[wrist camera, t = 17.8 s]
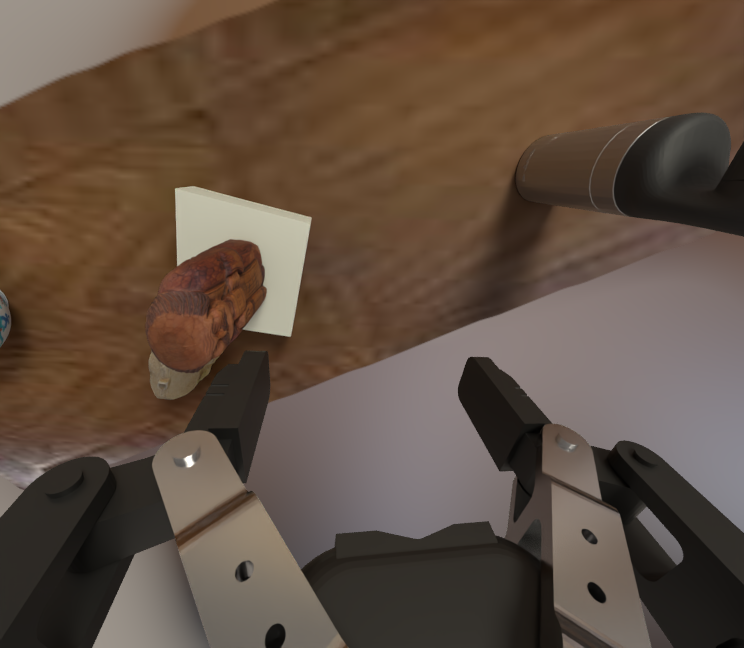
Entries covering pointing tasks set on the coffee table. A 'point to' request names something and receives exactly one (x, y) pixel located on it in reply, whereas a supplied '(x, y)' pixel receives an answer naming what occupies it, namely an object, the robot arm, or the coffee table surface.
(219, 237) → the cream white square block
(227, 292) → the wooden figurine
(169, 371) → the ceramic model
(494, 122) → the coffee table surface
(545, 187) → the robot arm
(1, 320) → the chinaware
